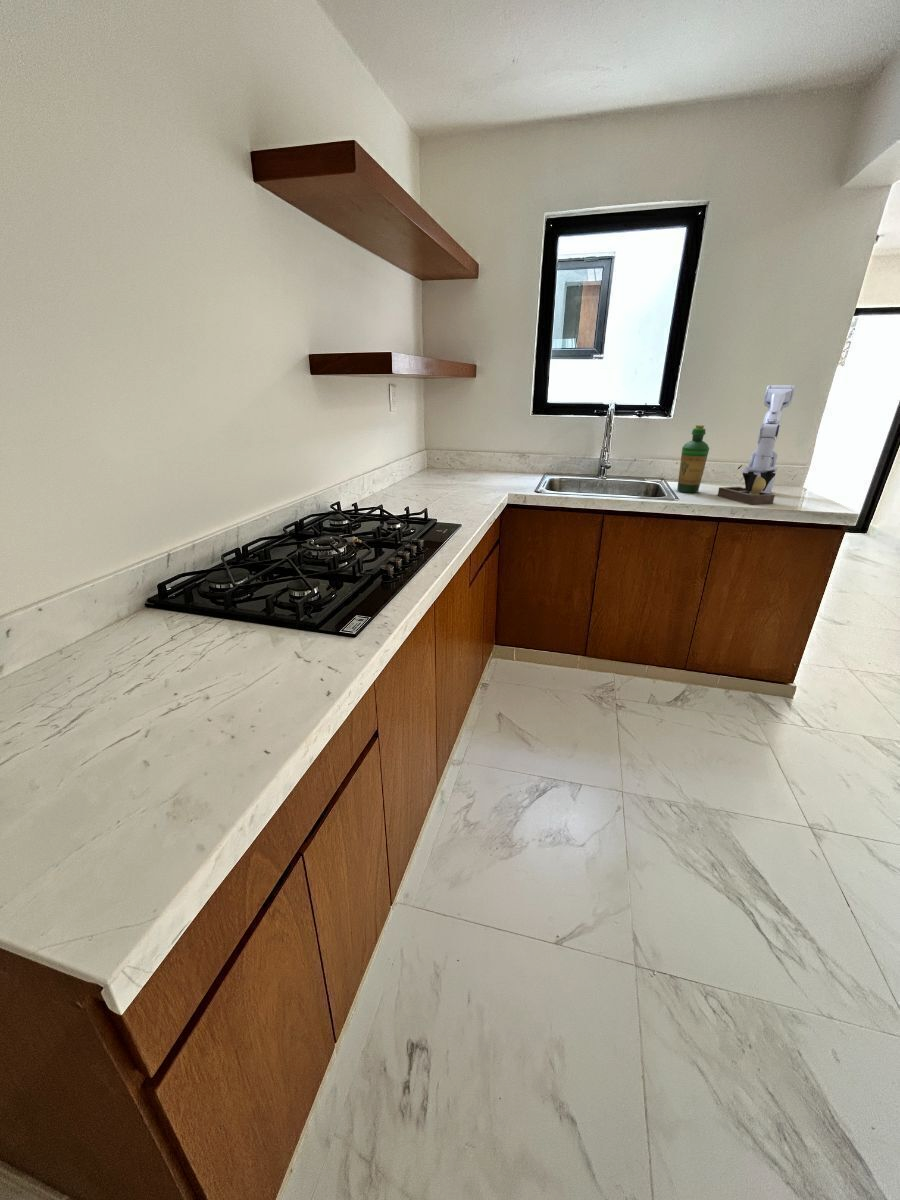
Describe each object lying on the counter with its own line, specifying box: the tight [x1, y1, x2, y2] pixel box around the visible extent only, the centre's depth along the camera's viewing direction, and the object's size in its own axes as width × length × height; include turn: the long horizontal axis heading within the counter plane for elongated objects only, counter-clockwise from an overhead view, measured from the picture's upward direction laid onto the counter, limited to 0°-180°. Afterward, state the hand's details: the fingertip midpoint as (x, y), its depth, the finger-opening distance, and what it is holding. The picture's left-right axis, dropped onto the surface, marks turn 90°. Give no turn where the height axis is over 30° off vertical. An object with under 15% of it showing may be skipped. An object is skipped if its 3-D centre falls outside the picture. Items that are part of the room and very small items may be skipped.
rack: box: [717, 486, 776, 506], centre depth 207 cm, size 10×19×4 cm, turn 14°
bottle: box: [676, 424, 710, 494], centre depth 217 cm, size 11×11×28 cm
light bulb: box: [749, 477, 766, 495], centre depth 202 cm, size 6×6×10 cm
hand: (754, 490), depth 202 cm, fingers closed on light bulb, 6 cm apart
